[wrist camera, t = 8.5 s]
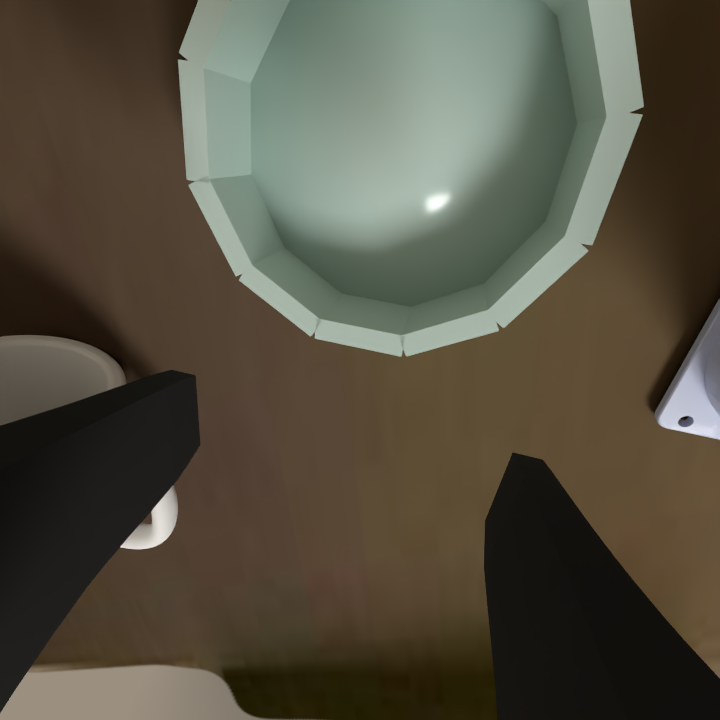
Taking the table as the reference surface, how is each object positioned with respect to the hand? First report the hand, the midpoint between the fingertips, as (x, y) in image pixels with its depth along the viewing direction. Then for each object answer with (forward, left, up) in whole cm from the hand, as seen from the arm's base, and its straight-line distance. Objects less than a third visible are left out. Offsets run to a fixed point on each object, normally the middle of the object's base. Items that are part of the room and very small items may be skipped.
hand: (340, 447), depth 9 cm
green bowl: (+1, -6, -9) cm, 11 cm away
